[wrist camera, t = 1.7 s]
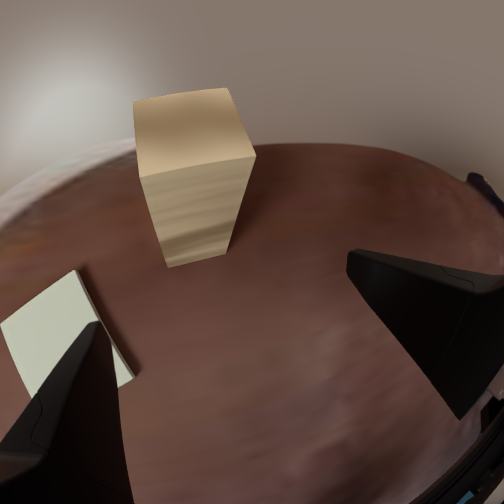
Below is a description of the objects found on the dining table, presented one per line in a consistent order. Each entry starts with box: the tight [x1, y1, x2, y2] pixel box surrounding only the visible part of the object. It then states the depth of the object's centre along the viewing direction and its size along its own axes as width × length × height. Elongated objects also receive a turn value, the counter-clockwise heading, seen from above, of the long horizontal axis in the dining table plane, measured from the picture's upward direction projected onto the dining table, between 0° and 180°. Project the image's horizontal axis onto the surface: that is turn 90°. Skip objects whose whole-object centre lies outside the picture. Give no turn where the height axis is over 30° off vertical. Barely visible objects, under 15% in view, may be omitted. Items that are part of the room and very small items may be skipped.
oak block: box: [133, 88, 256, 268], centre depth 18 cm, size 5×5×13 cm
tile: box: [0, 270, 136, 398], centre depth 18 cm, size 10×10×1 cm
